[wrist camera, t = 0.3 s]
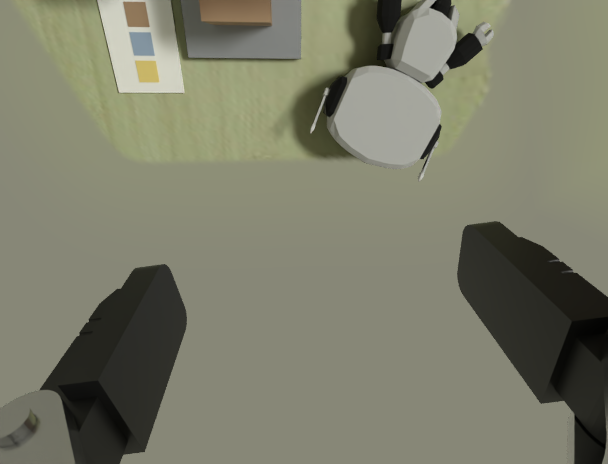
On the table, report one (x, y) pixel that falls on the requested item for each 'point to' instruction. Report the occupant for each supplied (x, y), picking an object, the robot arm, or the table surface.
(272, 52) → the base plate
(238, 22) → the brick walnut
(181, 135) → the table surface
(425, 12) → the robot toy
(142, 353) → the robot arm
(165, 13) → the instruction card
